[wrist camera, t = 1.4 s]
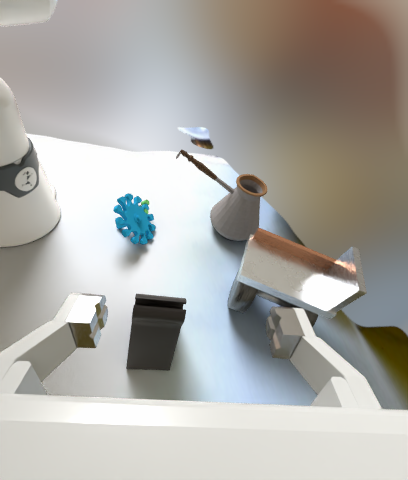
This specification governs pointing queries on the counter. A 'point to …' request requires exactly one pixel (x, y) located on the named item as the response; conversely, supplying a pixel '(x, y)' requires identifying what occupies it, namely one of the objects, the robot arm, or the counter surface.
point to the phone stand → (154, 331)
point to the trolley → (296, 277)
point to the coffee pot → (235, 204)
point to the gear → (134, 218)
